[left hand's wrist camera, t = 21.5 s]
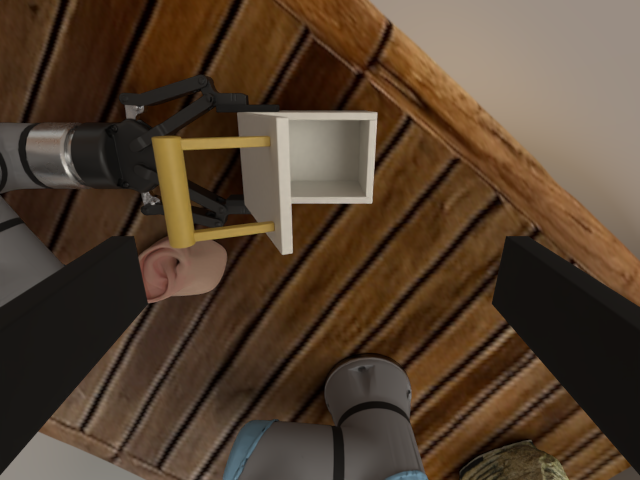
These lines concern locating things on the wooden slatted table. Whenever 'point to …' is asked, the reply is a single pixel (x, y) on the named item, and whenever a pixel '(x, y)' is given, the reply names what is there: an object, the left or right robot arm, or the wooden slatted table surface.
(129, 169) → the right robot arm
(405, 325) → the wooden slatted table surface
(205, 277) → the anatomical model
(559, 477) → the fossil
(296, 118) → the chest
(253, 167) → the lid
